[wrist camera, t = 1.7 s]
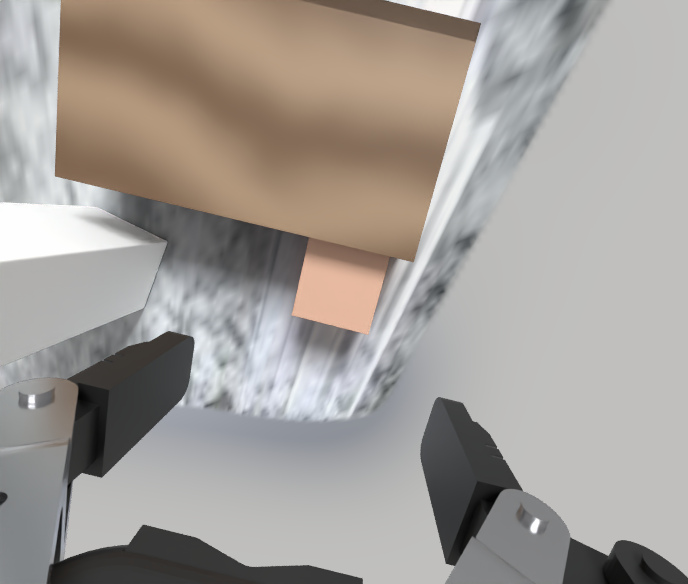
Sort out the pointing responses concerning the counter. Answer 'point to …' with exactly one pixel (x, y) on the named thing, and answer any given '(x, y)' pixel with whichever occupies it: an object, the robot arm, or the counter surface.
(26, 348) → the milk
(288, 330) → the counter surface
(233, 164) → the wooden bench
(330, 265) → the block
